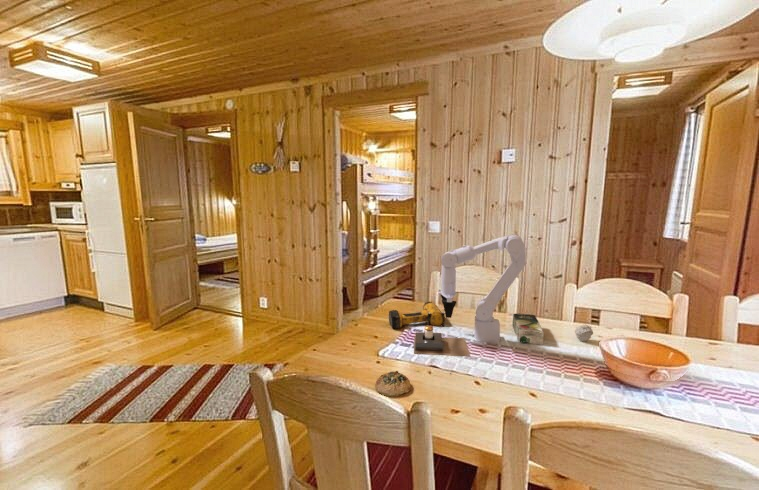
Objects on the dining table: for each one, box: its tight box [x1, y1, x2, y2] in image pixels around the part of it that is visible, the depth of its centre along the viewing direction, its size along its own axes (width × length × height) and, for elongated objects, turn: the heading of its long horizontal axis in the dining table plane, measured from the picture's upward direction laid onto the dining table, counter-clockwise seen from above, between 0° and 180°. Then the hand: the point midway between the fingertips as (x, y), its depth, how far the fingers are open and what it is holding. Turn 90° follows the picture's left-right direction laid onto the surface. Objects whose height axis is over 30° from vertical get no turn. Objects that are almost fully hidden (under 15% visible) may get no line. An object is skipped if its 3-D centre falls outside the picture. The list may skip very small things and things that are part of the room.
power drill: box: [388, 301, 446, 329], centre depth 165 cm, size 7×24×25 cm
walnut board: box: [413, 335, 471, 357], centre depth 134 cm, size 20×16×1 cm
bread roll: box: [374, 370, 412, 397], centre depth 107 cm, size 11×11×5 cm
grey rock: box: [574, 324, 594, 342], centre depth 140 cm, size 6×7×7 cm
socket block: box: [414, 331, 443, 352], centre depth 135 cm, size 10×10×3 cm
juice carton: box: [512, 313, 544, 345], centre depth 147 cm, size 20×10×6 cm, turn 166°
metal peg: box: [424, 325, 434, 340], centre depth 134 cm, size 3×3×7 cm
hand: (447, 314), depth 145 cm, fingers open, 7 cm apart
